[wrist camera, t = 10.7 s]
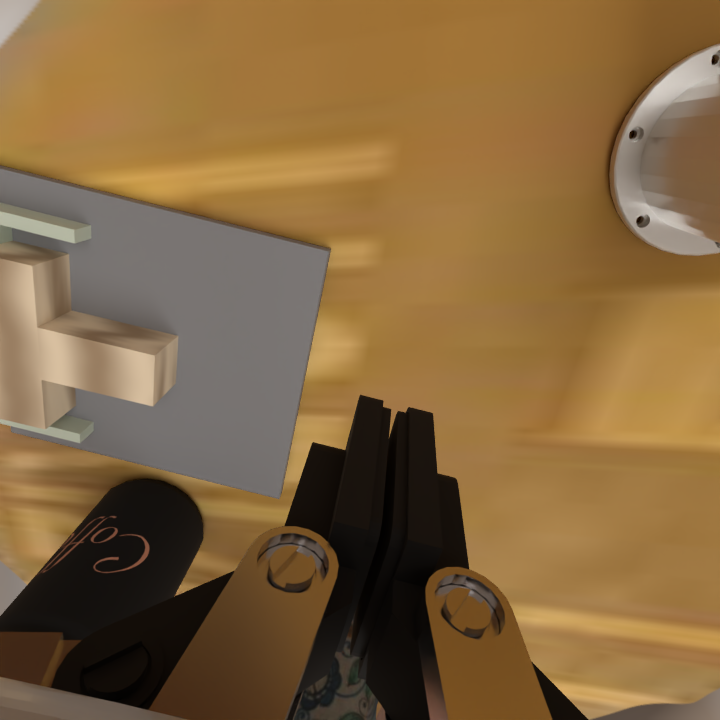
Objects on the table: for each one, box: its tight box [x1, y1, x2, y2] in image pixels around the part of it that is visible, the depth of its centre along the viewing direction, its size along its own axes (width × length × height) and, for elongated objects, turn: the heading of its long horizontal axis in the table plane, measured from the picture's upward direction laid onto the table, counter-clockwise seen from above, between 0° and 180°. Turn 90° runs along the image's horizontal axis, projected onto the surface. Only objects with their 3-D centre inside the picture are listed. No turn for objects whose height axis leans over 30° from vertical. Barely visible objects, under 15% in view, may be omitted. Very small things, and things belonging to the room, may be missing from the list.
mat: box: [0, 165, 331, 499], centre depth 40 cm, size 26×24×3 cm
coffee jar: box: [0, 479, 203, 640], centre depth 41 cm, size 11×11×18 cm
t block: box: [0, 241, 178, 429], centre depth 39 cm, size 14×14×4 cm
